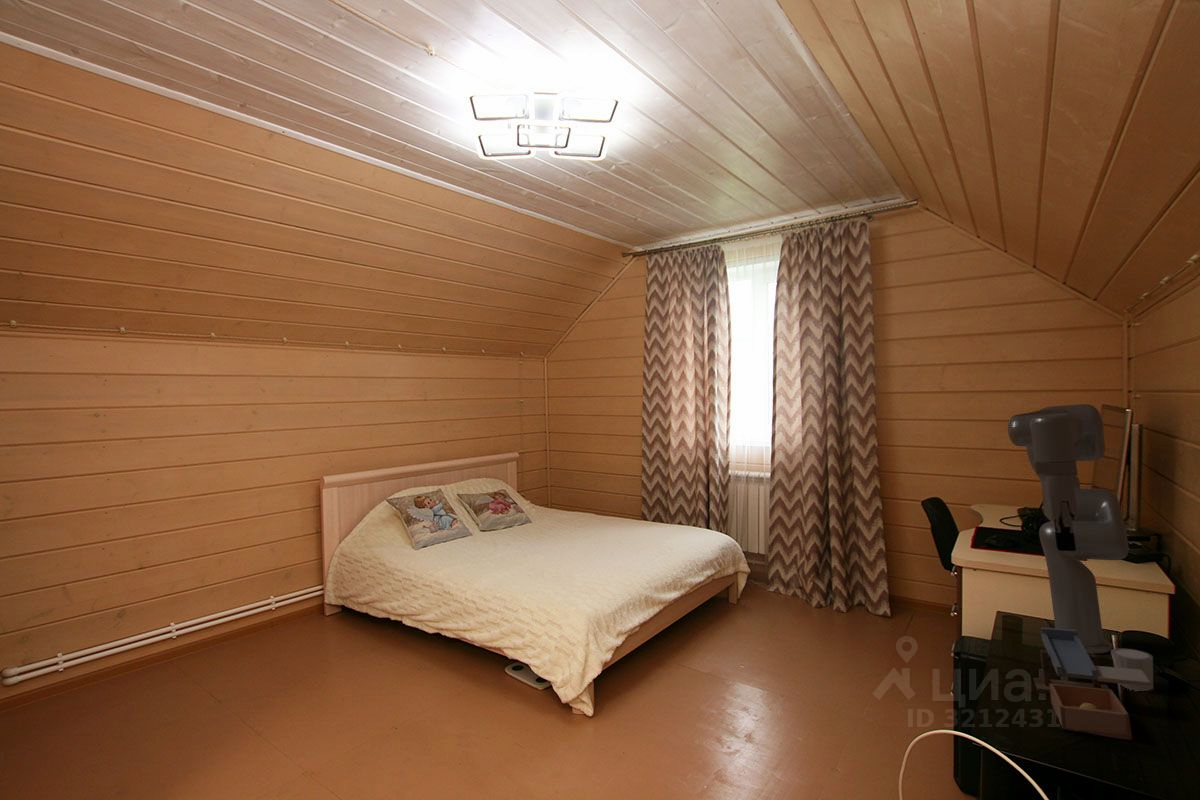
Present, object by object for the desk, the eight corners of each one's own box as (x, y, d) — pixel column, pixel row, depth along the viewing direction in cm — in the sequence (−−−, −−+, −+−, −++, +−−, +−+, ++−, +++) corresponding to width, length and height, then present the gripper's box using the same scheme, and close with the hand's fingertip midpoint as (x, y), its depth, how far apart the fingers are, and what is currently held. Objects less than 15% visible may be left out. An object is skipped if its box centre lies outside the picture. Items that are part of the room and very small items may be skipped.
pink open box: (1051, 705, 123) (1048, 683, 123) (1114, 712, 118) (1111, 689, 118) (1062, 731, 113) (1059, 707, 113) (1132, 740, 108) (1129, 715, 108)
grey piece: (1041, 642, 138) (1039, 627, 138) (1123, 649, 131) (1121, 632, 131) (1057, 680, 123) (1055, 663, 123) (1151, 689, 116) (1149, 671, 116)
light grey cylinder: (1165, 693, 124) (1161, 659, 124) (1128, 693, 125) (1123, 659, 125) (1142, 679, 130) (1138, 647, 131) (1107, 679, 132) (1103, 647, 132)
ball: (1076, 700, 117) (1079, 704, 114) (1096, 702, 115) (1100, 706, 112) (1078, 718, 116) (1082, 722, 113) (1099, 720, 114) (1103, 724, 112)
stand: (1033, 681, 134) (1029, 645, 134) (1107, 688, 128) (1102, 651, 128) (1038, 692, 129) (1033, 654, 129) (1115, 700, 122) (1109, 661, 123)
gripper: (1030, 467, 143) (1040, 543, 142) (1041, 472, 130) (1052, 556, 129) (1069, 465, 140) (1079, 543, 138) (1084, 471, 126) (1096, 557, 125)
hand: (1066, 549), depth 134 cm, fingers closed
